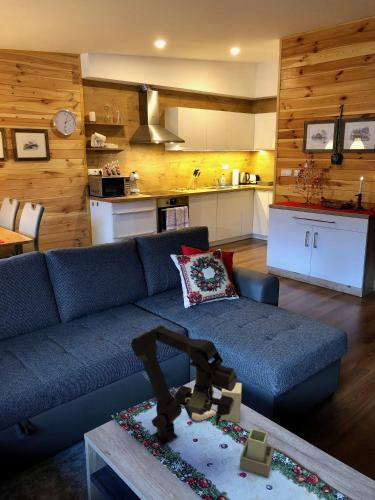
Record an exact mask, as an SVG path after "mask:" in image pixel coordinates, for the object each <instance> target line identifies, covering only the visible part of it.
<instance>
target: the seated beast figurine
mask: <svg viewBox="0 0 375 500" xmlns="http://www.w3.org/2000/svg"><path fill="white" fill-rule="evenodd" d="M191 393H193V390H192V392H191ZM215 415H217V414H216V411H215V410H213V409H211V410H210V411H206V412H204V414H203V415H199V414H197V413H192V418H191V420H194V421H196V422H201V420H203V421H204V419H205V420H207V419H210V418H213V417H214V416H215ZM212 416H213V417H212ZM209 417H210V418H209Z"/></svg>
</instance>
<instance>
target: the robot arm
mask: <svg viewBox="0 0 375 500" xmlns="http://www.w3.org/2000/svg"><path fill="white" fill-rule="evenodd" d="M157 342H159V343H162V344H164V345H166V346H169V347H170V348H173V349H175V350H177V351H180V352H181V353H184V354H185V355H187V357H188V359H190V360H191V361H190V362H189V363H188V365H189V366H191V367H194V368H195V369H194V370H195V371H194V372H195V373H194V374H195V377H194V378H195V381H194V383H195V384H194V385H193V388H191V387H190V386H185V385H180V386H179V387H178V389H177V390H176V391H175V393H174V395H173V394H171V393H170V389H169V387H168V385H167V384H168V383H167V382H166V379H165V376H164V374H163V372H162V369H161V366H160V363H159V361H158V358H157V351H158V344H157ZM130 346H131V349H132V351H133V353H134V355H135V357H137V359H139V360H140V361H142V364H143V367H144V368H145V371H146V375H147V376H148V379H149V381H150V384H151V387H152V390H153V392H154V395H155V398H156V405H155V406H156V408H155V412H156V415H155V416H154V418H152V419H151V423H152V426H153V427H154V428H156V431H155V433H153V435H152V436H153V437H154V438H155V439H156V440H157V441H158V442H159V443H160V444H161V445H162V446H165V445H166V444H168V443H170V442H172V441H174V440H176V439H178V435H177V434H176V432H175V424H174V422H175V420H176V419H178V418H179V417H180V416H181V415H182V411H183V409H182V408H183V407H184V409H185V413H186V414H187V416H188V419H189V420H192V413H197V414H199V415H203V414H204V412H206V411H210V410H212V407H213V405H215V406H216V407H217V408H216V411H215V413H216V414H215V415H216V421H215V427H218V425H219V423H220V421H221V416H222V415H226V414H227V415H228V414H230V412H231V410H232V408H233V405H234V399H233V398H232V397H228V396H224V395H222V396H220V398H217V397H214V393H215V390H214V386H215V387H217V388H219V389H222V388H223V389H225V390H228V391H232V390H233V389H234V387H235V385H236V383H238V382H237V381H238V376H237V373H236V372H235V369H234V368H232V367H227V366H225V365H222V363H224V359H222V357H221V354H220V353H219V351H218V349H217V347H216V346H215V343H214V342H213V341H211V340H207V339H203V338H191V337H188V336H185V335H183V334H181V333H178V332H176V331H174V330H171V329H168V328H166V327H165V326H164V325H157V326H155V327H154V328H152V329H151V330H150V331H144V332H142V333H141V334H138V336H136V337H134V338H133V339H132V340H131V343H130ZM212 359H214V360H212ZM210 361H211V362H210ZM192 391H193V393H191V392H192Z"/></svg>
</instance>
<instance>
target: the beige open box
mask: <svg viewBox="0 0 375 500" xmlns="http://www.w3.org/2000/svg"><path fill="white" fill-rule="evenodd" d="M247 439H248V451H247V459H250V460H254V461H257V462H261V463H264V464H265V460H266V451H267V445H268V432H266V431H263V430H259V429H256V428H251V430H250V433H249V435H248V438H247Z"/></svg>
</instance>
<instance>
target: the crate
mask: <svg viewBox="0 0 375 500" xmlns="http://www.w3.org/2000/svg"><path fill="white" fill-rule="evenodd" d="M247 451H248V438H247V439H246V441H245V443H244V447H243V449H242V451H241V455H240V457H239V470H241V471H244V472H247V473H251V474H254V475H257V476H260V477H264V478H267V479H268V477H269V474H270V470H271V466H272V463H271V462H273V459H274V446H273V445H269V444H267V451H266V460H265V464H264V463H261V462H257V461H254V460H250V459H247ZM272 458H273V459H272Z"/></svg>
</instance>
